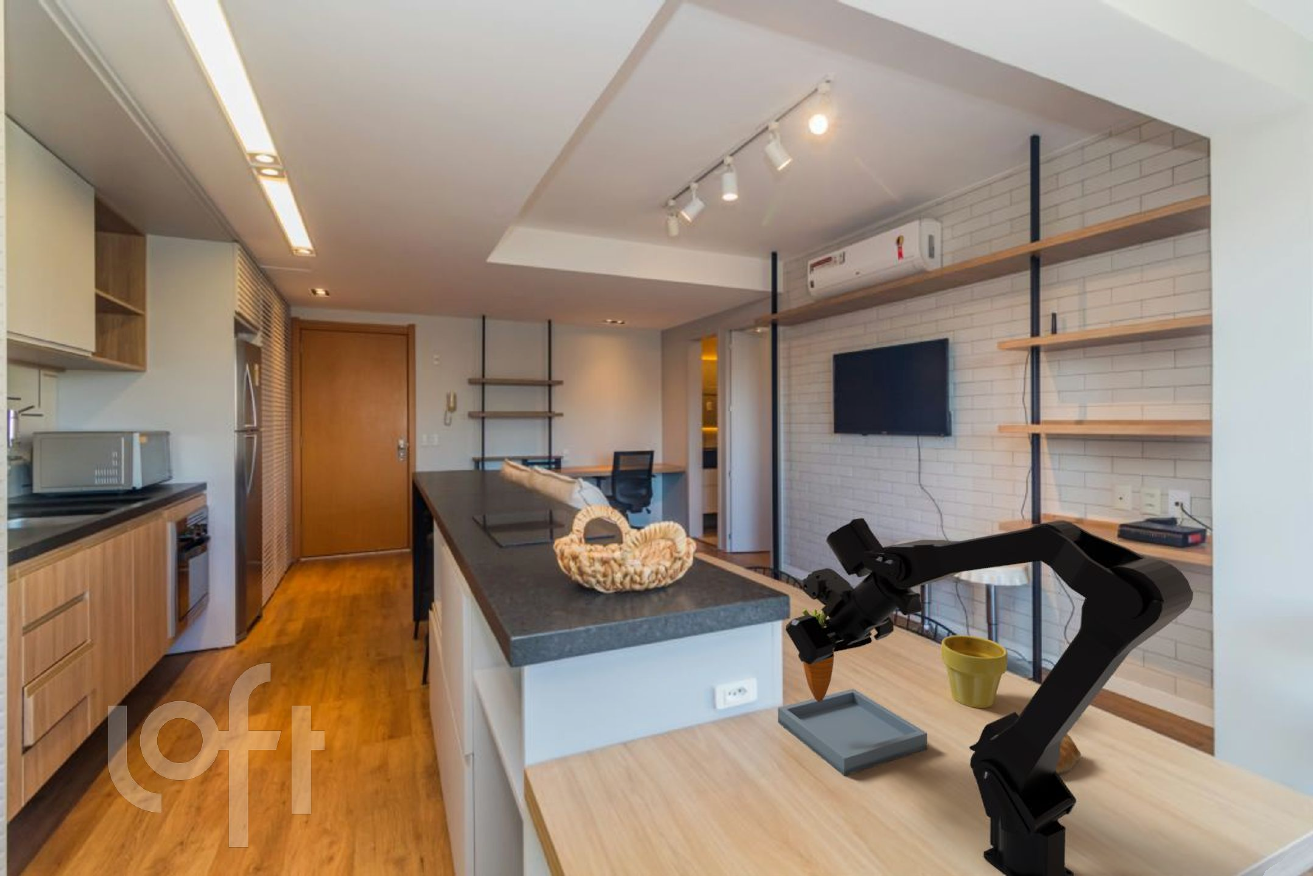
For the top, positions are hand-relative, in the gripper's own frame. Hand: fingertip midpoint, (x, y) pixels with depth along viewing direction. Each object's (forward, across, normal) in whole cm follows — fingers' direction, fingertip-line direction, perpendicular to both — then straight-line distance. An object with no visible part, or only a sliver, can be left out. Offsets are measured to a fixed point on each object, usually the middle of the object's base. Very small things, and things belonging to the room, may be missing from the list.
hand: (811, 654), depth 94 cm
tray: (+7, -5, +12) cm, 14 cm away
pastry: (-7, -23, +27) cm, 37 cm away
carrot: (+4, 0, +6) cm, 7 cm away
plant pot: (+4, -32, +15) cm, 36 cm away
